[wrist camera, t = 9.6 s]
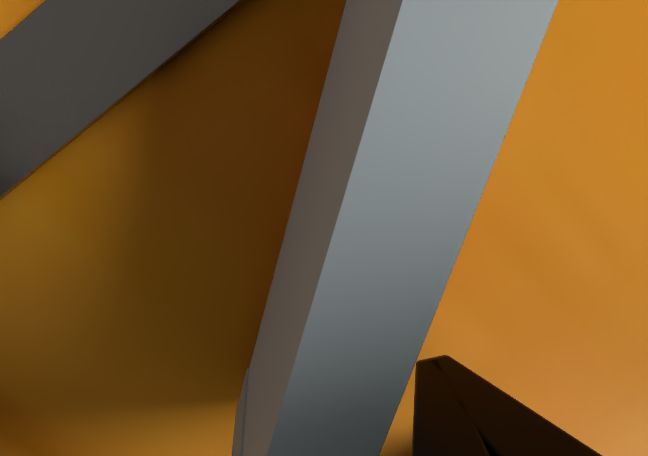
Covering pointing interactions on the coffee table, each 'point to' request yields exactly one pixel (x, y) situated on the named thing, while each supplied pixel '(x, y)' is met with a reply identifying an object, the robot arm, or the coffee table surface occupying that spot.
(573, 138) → the coffee table surface
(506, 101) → the grey block
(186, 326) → the coffee table surface
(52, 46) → the dark grey long piece
